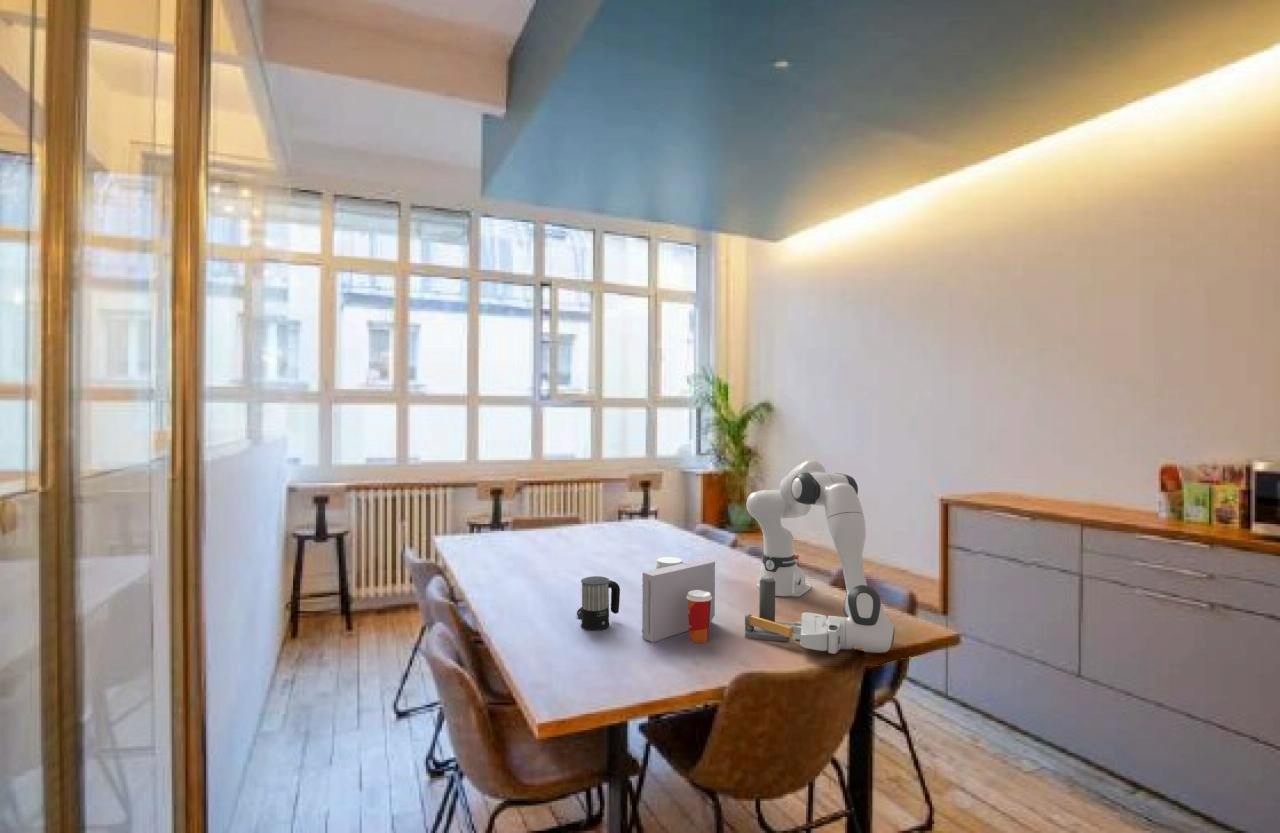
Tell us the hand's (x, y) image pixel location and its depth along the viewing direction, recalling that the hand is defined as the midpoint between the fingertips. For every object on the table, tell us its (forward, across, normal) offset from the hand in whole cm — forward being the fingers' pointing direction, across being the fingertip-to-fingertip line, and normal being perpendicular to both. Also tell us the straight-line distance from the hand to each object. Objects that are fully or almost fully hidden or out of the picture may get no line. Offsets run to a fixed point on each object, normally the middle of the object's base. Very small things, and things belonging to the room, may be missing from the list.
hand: (784, 626), depth 178 cm
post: (+11, -4, +5) cm, 13 cm away
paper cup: (+25, +4, +6) cm, 26 cm away
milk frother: (+61, 0, +6) cm, 62 cm away
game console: (+33, -2, +6) cm, 33 cm away
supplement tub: (+42, -30, +6) cm, 52 cm away
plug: (+6, -8, +5) cm, 11 cm away
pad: (-7, -8, +5) cm, 12 cm away
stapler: (+5, -1, +2) cm, 6 cm away
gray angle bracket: (+6, -8, +5) cm, 11 cm away
